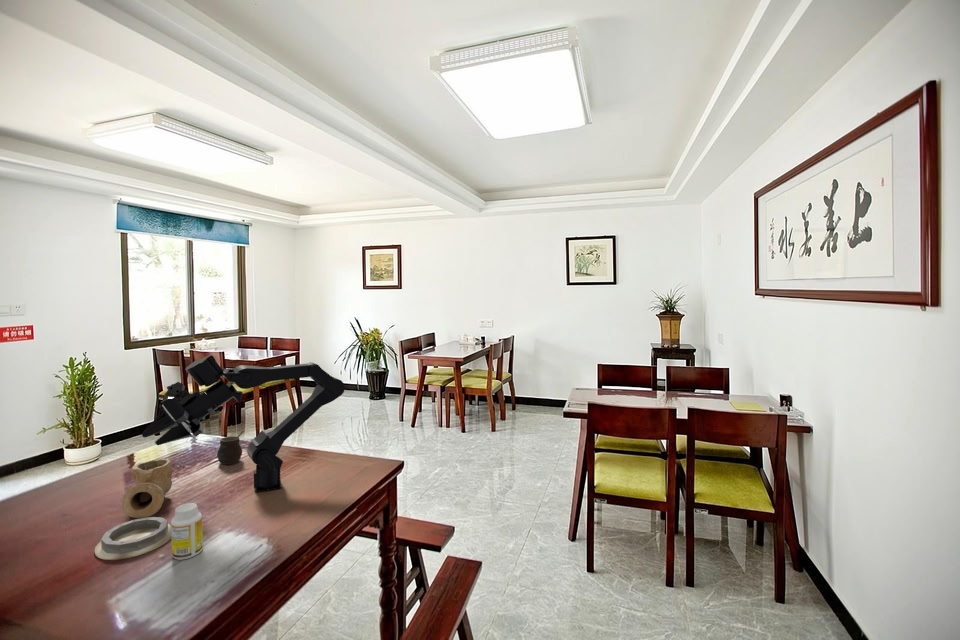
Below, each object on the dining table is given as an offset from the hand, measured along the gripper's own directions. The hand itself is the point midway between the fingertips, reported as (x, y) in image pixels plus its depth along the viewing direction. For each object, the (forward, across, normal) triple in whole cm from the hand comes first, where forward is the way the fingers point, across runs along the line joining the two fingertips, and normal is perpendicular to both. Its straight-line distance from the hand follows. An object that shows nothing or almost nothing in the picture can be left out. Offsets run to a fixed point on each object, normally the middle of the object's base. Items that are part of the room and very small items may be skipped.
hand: (149, 440), depth 110 cm
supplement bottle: (+6, +9, +30) cm, 32 cm away
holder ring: (+13, +2, +19) cm, 23 cm away
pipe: (+10, -15, +10) cm, 20 cm away
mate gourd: (-8, -38, +7) cm, 40 cm away
